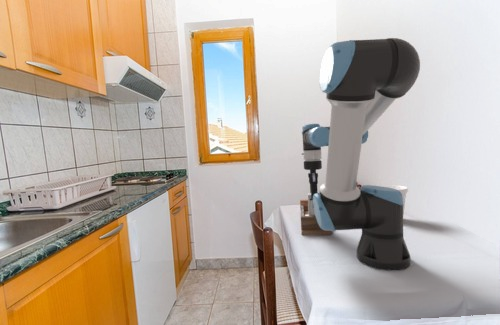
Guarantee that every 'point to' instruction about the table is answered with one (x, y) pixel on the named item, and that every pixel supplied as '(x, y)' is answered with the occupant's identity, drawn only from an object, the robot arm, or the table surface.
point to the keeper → (309, 205)
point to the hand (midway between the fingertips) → (314, 213)
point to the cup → (399, 188)
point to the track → (310, 222)
